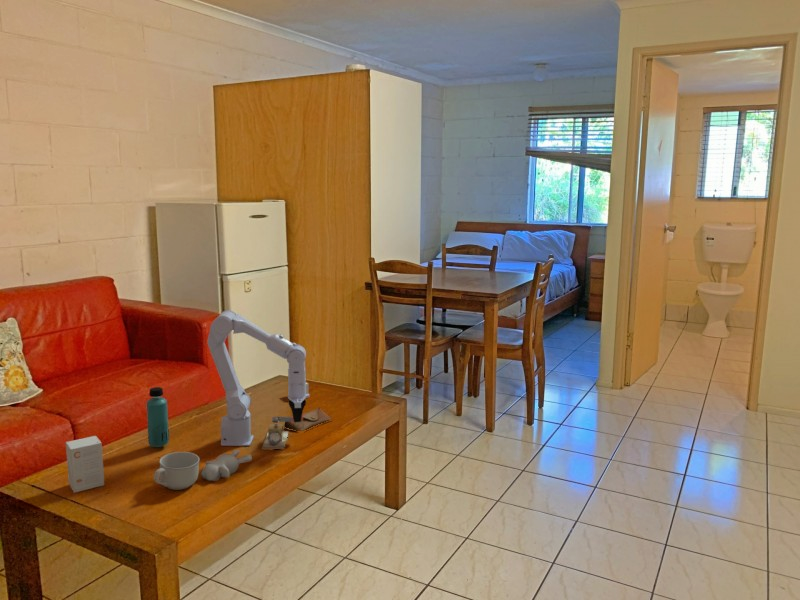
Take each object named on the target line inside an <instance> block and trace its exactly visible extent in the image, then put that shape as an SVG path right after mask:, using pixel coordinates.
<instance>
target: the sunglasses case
mask: <svg viewBox="0 0 800 600" xmlns="http://www.w3.org/2000/svg"><path fill="white" fill-rule="evenodd" d="M302 415H303V422H291V421H287V422H284V423H283V427H284V428H285V427H286V428H289V429H293V430H296V431H304V430H307V429H309V428H311V427H313V426H316V425H318V424H321V423H324V422H326V421H329V420H331V419H332V417H330V416H329V415H328V414H327V413H326V412H324V410H322V409H321V407H318V408H316V409H313V410H310V411H307V412H304V413H302Z"/></svg>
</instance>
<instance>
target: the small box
mask: <svg viewBox="0 0 800 600" xmlns="http://www.w3.org/2000/svg"><path fill="white" fill-rule="evenodd" d="M102 444H103V443H102V442H101V440H100V439H99V438H98V437H97V436H96V435H92V436H87V437H84V438H79V439H75V440H69V441H65V450H66V452H65V453H66V464H67V475H68V477H67V478H68V486H69V487H70V489H71V490H72V491H73V494H75V493H79V492H82V491H86V490H90V489H93V488H98V487H102V486H105V475H104V473H105V471H104V460H103V459H104V458H103V445H102Z"/></svg>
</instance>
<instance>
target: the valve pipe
mask: <svg viewBox="0 0 800 600" xmlns="http://www.w3.org/2000/svg"><path fill="white" fill-rule="evenodd" d="M268 426H269V427H268V429H267V431H268V432H267V433H268V441H269V443H270V444H271V445H273V446H274V445H277V444H278V443H279V442H280V441H282V439H283V431H284V423H269V425H268Z"/></svg>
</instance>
